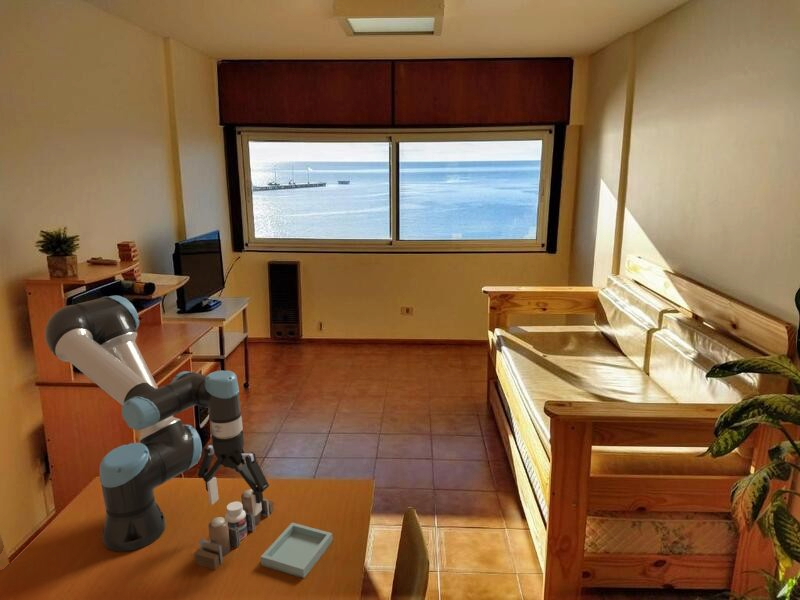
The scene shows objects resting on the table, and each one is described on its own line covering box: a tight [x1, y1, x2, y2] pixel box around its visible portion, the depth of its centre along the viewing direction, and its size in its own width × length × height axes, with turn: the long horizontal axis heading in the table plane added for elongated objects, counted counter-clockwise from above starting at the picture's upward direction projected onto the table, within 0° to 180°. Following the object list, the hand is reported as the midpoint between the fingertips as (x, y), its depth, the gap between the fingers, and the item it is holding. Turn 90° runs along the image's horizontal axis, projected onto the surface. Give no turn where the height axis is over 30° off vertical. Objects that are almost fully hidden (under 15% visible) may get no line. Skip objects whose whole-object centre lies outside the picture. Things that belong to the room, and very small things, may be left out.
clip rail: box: [193, 497, 275, 571], centre depth 150 cm, size 6×25×5 cm, turn 158°
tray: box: [260, 522, 334, 579], centre depth 144 cm, size 12×14×2 cm
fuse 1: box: [208, 516, 231, 558], centre depth 144 cm, size 5×5×9 cm
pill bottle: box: [224, 501, 248, 541], centre depth 150 cm, size 5×5×9 cm
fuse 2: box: [240, 488, 262, 526], centre depth 156 cm, size 5×5×9 cm
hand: (235, 507), depth 149 cm, fingers open, 13 cm apart
